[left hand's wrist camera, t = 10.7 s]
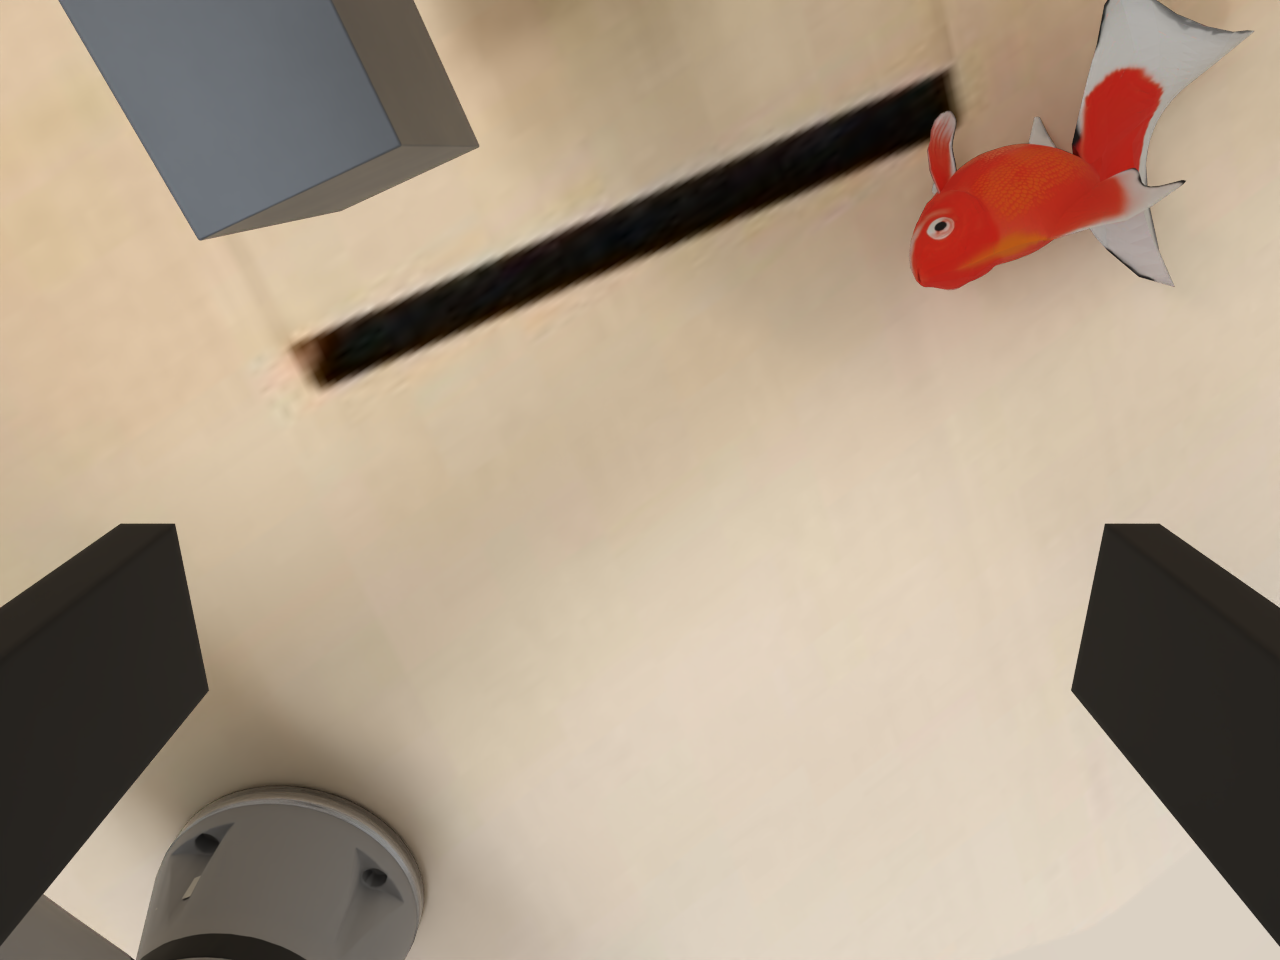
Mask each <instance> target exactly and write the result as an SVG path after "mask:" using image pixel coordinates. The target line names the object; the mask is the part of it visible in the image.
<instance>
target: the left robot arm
mask: <svg viewBox="0 0 1280 960" xmlns="http://www.w3.org/2000/svg"><path fill="white" fill-rule="evenodd" d="M208 691H209V689H208V684H207V679H206V674H205V669H204V664H203V659H202V654H201V649H200V644H199V640H198V635H197V630H196V625H195V620H194V615H193V610H192V605H191V600H190V595H189V590H188V585H187V581H186V576H185V571H184V566H183V561H182V556H181V551H180V546H179V541H178V536H177V531H176V526H175V524H120V525H118V526H117V527H115V528H114V529H112V530H111V531H110V532H108V533H107V534H105V535H104V536H102V537H101V538H100V539H98V540H97V541H95V542H94V543H92V544H91V545H90V546H88V547H87V548H85V549H84V550H82V551H81V552H80V553H78V554H77V555H75V556H74V557H72V558H71V559H69V560H68V561H67V562H65V563H64V564H62V565H61V566H59V567H58V568H57V569H55V570H54V571H52V572H51V573H49V574H48V575H47V576H45V577H44V578H42V579H41V580H39V581H38V582H37V583H35V584H34V585H32V586H31V587H29V588H28V589H27V590H25V591H24V592H22V593H21V594H19V595H18V596H16V597H15V598H14V599H12V600H11V601H9V602H8V603H6V604H5V605H4V606H2V607H1V608H0V960H134V959H133V958H131V957H130V956H129V955H128V954H127V953H125V952H124V951H122V950H121V949H120V948H118V947H117V946H115V945H114V944H112V943H111V942H110V941H108V940H107V939H105V938H104V937H102V936H101V935H100V934H98V933H97V932H95V931H94V930H92V929H91V928H90V927H88V926H87V925H85V924H84V923H82V922H81V921H80V920H78V919H77V918H75V917H74V916H72V915H71V914H70V913H68V912H67V911H66V910H64V909H63V908H61V907H60V906H59V905H57V904H56V903H55V902H53V901H52V900H51V899H49V898H48V897H46V896H45V895H44V894H43V893H44V892H45V891H46V890H47V889H48V887H49V886H50V885H51V884H52V882H53V881H54V880H55V879H56V877H57V876H58V875H59V874H60V873H61V871H62V870H63V869H64V868H65V866H66V865H67V864H68V863H69V862H70V860H71V859H72V858H73V857H74V855H75V854H76V853H77V852H78V850H79V849H80V848H81V847H82V846H83V844H84V843H85V842H86V841H87V839H88V838H89V837H90V836H91V835H92V833H93V832H94V831H95V830H96V828H97V827H98V826H99V825H100V823H101V822H102V821H103V820H104V819H105V817H106V816H107V815H108V814H109V812H110V811H111V810H112V809H113V808H114V806H115V805H116V804H117V803H118V801H119V800H120V799H121V798H122V796H123V795H124V794H125V793H126V792H127V790H128V789H129V788H130V787H131V785H132V784H133V783H134V782H135V780H136V779H137V778H138V777H139V776H140V774H141V773H142V772H143V771H144V769H145V768H146V767H147V766H148V765H149V763H150V762H151V761H152V760H153V758H154V757H155V756H156V755H157V753H158V752H159V751H160V750H161V749H162V747H163V746H164V745H165V744H166V742H167V741H168V740H169V739H170V738H171V736H172V735H173V734H174V733H175V731H176V730H177V729H178V728H179V726H180V725H181V724H182V723H183V722H184V720H185V719H186V718H187V717H188V715H189V714H190V713H191V712H192V711H193V709H194V708H195V707H196V706H197V704H198V703H199V702H200V701H201V699H202V698H203V697H204V696H205V695H206V693H207V692H208ZM1071 691H1072V692H1073V693H1074V695H1075V696H1076V697H1077V698H1078V699H1079V701H1080V702H1081V703H1082V704H1083V706H1084V707H1085V708H1086V709H1087V711H1088V712H1089V713H1090V714H1091V715H1092V717H1093V718H1094V719H1095V720H1096V722H1097V723H1098V724H1099V725H1100V726H1101V728H1102V729H1103V730H1104V731H1105V733H1106V734H1107V735H1108V736H1109V738H1110V739H1111V740H1112V741H1113V742H1114V744H1115V745H1116V746H1117V747H1118V749H1119V750H1120V751H1121V752H1122V753H1123V755H1124V756H1125V757H1126V758H1127V760H1128V761H1129V762H1130V763H1131V765H1132V766H1133V767H1134V768H1135V769H1136V771H1137V772H1138V773H1139V774H1140V776H1141V777H1142V778H1143V779H1144V780H1145V782H1146V783H1147V784H1148V785H1149V787H1150V788H1151V789H1152V790H1153V792H1154V793H1155V794H1156V795H1157V796H1158V798H1159V799H1160V800H1161V801H1162V803H1163V804H1164V805H1165V806H1166V808H1167V809H1168V810H1169V811H1170V812H1171V814H1172V815H1173V816H1174V817H1175V819H1176V820H1177V821H1178V822H1179V823H1180V825H1181V826H1182V827H1183V828H1184V830H1185V831H1186V832H1187V833H1188V835H1189V836H1190V837H1191V838H1192V839H1193V841H1194V842H1195V843H1196V844H1197V846H1198V847H1199V848H1200V849H1201V850H1202V852H1203V853H1204V854H1205V855H1206V857H1207V858H1208V859H1209V860H1210V862H1211V863H1212V864H1213V865H1214V866H1215V868H1216V869H1217V870H1218V871H1219V873H1220V874H1221V875H1222V876H1223V877H1224V879H1225V880H1226V881H1227V882H1228V884H1229V885H1230V886H1231V887H1232V889H1233V890H1234V891H1235V892H1236V893H1237V895H1238V896H1239V897H1240V898H1241V900H1242V901H1243V902H1244V903H1245V904H1246V906H1247V907H1248V908H1249V909H1250V911H1251V912H1252V913H1253V914H1254V916H1255V917H1256V918H1257V919H1258V920H1259V922H1260V923H1261V924H1262V925H1263V927H1264V928H1265V929H1266V930H1267V931H1268V933H1269V934H1270V935H1271V936H1272V938H1273V939H1274V940H1275V941H1276V943H1277V944H1278V945H1279V946H1280V608H1279V607H1278V606H1276V605H1275V604H1274V603H1272V602H1271V601H1269V600H1268V599H1266V598H1265V597H1264V596H1262V595H1261V594H1259V593H1258V592H1256V591H1255V590H1253V589H1252V588H1251V587H1249V586H1248V585H1246V584H1245V583H1243V582H1242V581H1241V580H1239V579H1238V578H1236V577H1235V576H1233V575H1232V574H1231V573H1229V572H1228V571H1226V570H1225V569H1223V568H1222V567H1221V566H1219V565H1218V564H1216V563H1215V562H1213V561H1212V560H1211V559H1209V558H1208V557H1206V556H1205V555H1203V554H1202V553H1200V552H1199V551H1198V550H1196V549H1195V548H1193V547H1192V546H1190V545H1189V544H1188V543H1186V542H1185V541H1183V540H1182V539H1180V538H1179V537H1178V536H1176V535H1175V534H1173V533H1172V532H1170V531H1169V530H1168V529H1166V528H1165V527H1163V526H1162V525H1160V524H1105V526H1104V531H1103V536H1102V541H1101V546H1100V551H1099V556H1098V561H1097V566H1096V571H1095V576H1094V581H1093V585H1092V590H1091V595H1090V600H1089V605H1088V610H1087V615H1086V620H1085V625H1084V630H1083V635H1082V640H1081V644H1080V649H1079V654H1078V659H1077V664H1076V669H1075V674H1074V679H1073V684H1072V689H1071ZM423 905H424V890H423V883H422V878H421V874H420V872H419V869H418V866H417V864H416V862H415V860H414V857H413V856H412V854H411V852H410V851H409V849H408V848H407V846H406V845H405V844H404V842H403V841H402V840H401V838H400V837H399V836H398V835H397V834H396V833H395V832H394V831H393V830H392V829H391V828H390V827H389V826H388V825H386V824H385V823H384V822H383V821H382V820H380V819H379V818H378V817H376V816H375V815H374V814H372V813H370V812H369V811H367V810H366V809H364V808H362V807H360V806H358V805H356V804H354V803H353V802H350V801H348V800H346V799H343V798H341V797H338V796H335V795H332V794H329V793H326V792H322V791H318V790H314V789H308V788H302V787H292V786H266V787H257V788H251V789H246V790H242V791H238V792H235V793H232V794H229V795H226V796H224V797H222V798H220V799H218V800H216V801H214V802H212V803H210V804H209V805H207V806H206V807H204V808H203V809H201V810H200V811H199V812H197V813H196V814H195V815H194V816H193V817H192V818H191V819H190V820H189V821H188V823H187V824H186V825H185V826H184V827H183V829H182V830H181V832H180V833H179V835H178V836H177V838H176V839H175V841H174V842H173V843H172V845H171V846H170V848H169V850H168V851H167V853H166V855H165V857H164V859H163V861H162V864H161V866H160V869H159V871H158V873H157V876H156V879H155V883H154V887H153V891H152V896H151V900H150V904H149V908H148V912H147V916H146V920H145V924H144V929H143V933H142V937H141V941H140V945H139V949H138V953H137V958H136V960H405V958H406V956H407V954H408V952H409V950H410V949H411V946H412V944H413V942H414V939H415V936H416V932H417V929H418V926H419V922H420V919H421V915H422V911H423Z"/></svg>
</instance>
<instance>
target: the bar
mask: <svg viewBox="0 0 1280 960" xmlns="http://www.w3.org/2000/svg"><path fill="white" fill-rule="evenodd" d="M59 2H60V4H61V5H62V7H63V9H64V11H65V12H66V14H67V16H68V17H69V19H70V21H71V23H72V24H73V26H74V28H75V29H76V31H77V33H78V35H79V36H80V38H81V40H82V41H83V43H84V45H85V47H86V48H87V50H88V52H89V53H90V55H91V57H92V58H93V60H94V62H95V64H96V65H97V67H98V69H99V70H100V72H101V74H102V76H103V77H104V79H105V81H106V82H107V84H108V86H109V88H110V89H111V91H112V93H113V94H114V96H115V98H116V100H117V101H118V103H119V105H120V106H121V108H122V110H123V112H124V113H125V115H126V117H127V118H128V120H129V122H130V124H131V125H132V127H133V129H134V130H135V132H136V134H137V135H138V137H139V139H140V141H141V142H142V144H143V146H144V147H145V149H146V151H147V153H148V154H149V156H150V158H151V159H152V161H153V163H154V165H155V166H156V168H157V170H158V171H159V173H160V175H161V177H162V178H163V180H164V182H165V183H166V185H167V187H168V189H169V190H170V192H171V194H172V195H173V197H174V199H175V201H176V202H177V204H178V206H179V207H180V209H181V211H182V213H183V214H184V216H185V218H186V219H187V221H188V223H189V224H190V226H191V228H192V230H193V231H194V233H195V235H196V236H197V238H198V239H199V240H205V239H210V238H215V237H219V236H224V235H229V234H234V233H238V232H243V231H248V230H253V229H257V228H262V227H267V226H272V225H276V224H281V223H286V222H291V221H295V220H300V219H305V218H310V217H315V216H319V215H324V214H329V213H334V212H338V211H342V210H344V209H346V208H348V207H351V206H353V205H355V204H357V203H359V202H361V201H364V200H366V199H368V198H370V197H372V196H374V195H377V194H379V193H381V192H383V191H385V190H387V189H390V188H392V187H394V186H396V185H398V184H400V183H403V182H405V181H407V180H409V179H411V178H413V177H416V176H418V175H420V174H422V173H424V172H426V171H428V170H431V169H433V168H435V167H437V166H439V165H441V164H444V163H446V162H448V161H450V160H452V159H454V158H457V157H459V156H461V155H463V154H465V153H467V152H470V151H472V150H474V149H476V148H478V147H479V144H478V142H477V139H476V137H475V135H474V133H473V130H472V128H471V126H470V124H469V122H468V119H467V117H466V115H465V113H464V111H463V108H462V106H461V104H460V102H459V100H458V97H457V95H456V93H455V91H454V89H453V86H452V84H451V82H450V80H449V78H448V75H447V73H446V71H445V69H444V67H443V64H442V62H441V60H440V58H439V56H438V53H437V51H436V49H435V47H434V45H433V42H432V40H431V38H430V36H429V33H428V31H427V29H426V27H425V25H424V22H423V20H422V18H421V16H420V14H419V11H418V9H417V7H416V5H415V3H414V0H59Z"/></svg>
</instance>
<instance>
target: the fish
mask: <svg viewBox="0 0 1280 960" xmlns="http://www.w3.org/2000/svg"><path fill="white" fill-rule="evenodd" d="M1253 32H1254V31H1248V30H1247V31H1237V32H1231V31H1226V30H1221V29H1217V28H1212V27H1207V26H1205V25H1202V24H1200V23H1197V22H1195V21H1193V20H1190V19H1188V18H1185V17H1183V16H1180V15H1178V14H1176V13H1175V12H1173V11H1172V10H1170V9H1169V8H1167V7H1166V6H1164V5H1163V4H1161V3H1160V2H1158V1H1157V0H1107V2H1106V3H1105V5H1104V10H1103V15H1102V21H1101V26H1100V31H1099V36H1098V42H1097V46H1096V50H1095V53H1094V57H1093V60H1092V64H1091V67H1090V71H1089V75H1088V79H1087V83H1086V87H1085V91H1084V95H1083V99H1082V103H1081V108H1080V112H1079V116H1078V121H1077V125H1076V129H1075V134H1074V138H1073V142H1072V149H1073V154H1071V153H1068V152H1066V151H1063V150H1061V149H1057V148H1056V146H1055V144H1054V143H1053V141H1052V140H1051V138H1050V137H1049V135H1048V133H1047V131H1046V129H1045V127H1044V125H1043V123H1042V121H1041V119H1040V117H1035V118H1034V122H1033V126H1032V130H1031V134H1030V139H1029V144H1016V145H1010V146H1005V147H1001V148H998V149H995V150H991V151H988V152H985V153H983V154H981V155H979V156H977V157H975V158H973V159H972V160H970V161H969V162H967V163H966V164H964V165H963V166H962V167H961V168H960V169H958V170H957V171H956V163H955V158H954V154H953V148H952V146H953V138H954V134H955V129H956V118H955V116H954V114H953V113H952V111H946V112H943V113H941V114H940V115H939V116H938V117H937V118H936V119H935V120H934V123H933V126H932V129H931V139H930V143H929V147H928V150H927V152H928V160H929V169H930V173H931V175H932V178H933V181H934V184H933V188H932V192H933V194H934V197H933V198H932V199H931V200H930V201H929V202H928V203H927V204H926V206H925V208H924V210H923V212H922V214H921V216H920V218H919V221H918V222H917V224H916V227H915V229H914V232H913V236H912V239H911V244H910V267H911V270H912V273H913V275H914V277H915V279H916V281H917V282H918V283H919V284H920V285H922V286H924V287H935V288H941V289H945V290H954V289H958V288H960V287H961V286H963V285H965V284H966V283H968V282H970V281H973V280H975V279H977V278H979V277H981V276H983V275H985V274H986V273H988V272H989V271H990V270H991V269H992V268H993V267H994V266H996V265H999V264H1002V263H1006V262H1009V261H1013V260H1016V259H1018V258H1021V257H1023V256H1026V255H1029V254H1031V253H1033V252H1035V251H1037V250H1039V249H1040V248H1042V247H1043V246H1045V245H1046V244H1048V243H1049V242H1051V241H1052V240H1053V239H1056V238H1060V237H1063V236H1066V235H1069V234H1072V233H1075V232H1079V231H1082V230H1086V229H1090V230H1091V231H1092V233H1093V234H1094V236H1095V237H1096V238H1097V239H1098V240H1099V242H1100V243H1101V244H1102V245H1103V246H1104V247H1105V248H1106V249H1107V250H1108V251H1109V252H1110V253H1111V254H1113V255H1114V256H1115V257H1116V258H1117V259H1119V260H1120V261H1121V262H1122V263H1123V264H1124V265H1126V266H1127V267H1128V268H1129V269H1130V270H1132V271H1133V272H1134V273H1135V274H1136V275H1137V276H1139V277H1142V278H1145V279H1149V280H1152V281H1156V282H1159V283H1163V284H1166V285H1170V286H1173V287H1174V284H1173V282H1172V280H1171V277H1170V275H1169V273H1168V270H1167V268H1166V266H1165V264H1164V261H1163V259H1162V257H1161V254H1160V252H1159V247H1158V243H1157V238H1156V234H1155V229H1154V225H1153V220H1152V215H1151V211H1150V207H1151V206H1153V205H1154V204H1156V203H1157V202H1159V201H1160V200H1161V199H1163V198H1164V197H1166V196H1167V195H1168V194H1170V193H1171V192H1173V191H1174V190H1176V189H1177V188H1178V187H1180V186H1181V185H1183V184H1184V183H1185V182H1186V181H1185V180H1181V181H1177V182H1174V183H1170V184H1166V185H1162V186H1153V187H1150V186H1147V173H1146V159H1147V152H1148V146H1149V142H1150V138H1151V135H1152V133H1153V130H1154V128H1155V125H1156V123H1157V121H1158V119H1159V118H1160V116H1161V114H1162V113H1163V111H1164V110H1165V108H1166V107H1167V106H1168V104H1169V103H1170V102H1171V101H1172V100H1173V99H1174V97H1175V96H1176V95H1177V94H1178V93H1179V92H1180V91H1181V90H1182V89H1184V88H1185V87H1186V86H1187V85H1188V84H1190V83H1191V82H1192V81H1194V80H1195V79H1196V78H1197V77H1199V76H1200V75H1201V74H1202V73H1204V72H1205V71H1206V70H1207V69H1209V68H1210V67H1211V66H1212V65H1214V64H1215V63H1216V62H1217V61H1219V60H1220V59H1221V58H1222V57H1223V56H1225V55H1226V54H1227V53H1228V52H1230V51H1231V50H1232V49H1233V48H1234V47H1236V46H1237V45H1238V44H1239V43H1241V42H1242V41H1243V40H1244V39H1245V38H1247V37H1248V36H1249V35H1250V34H1251V33H1253Z"/></svg>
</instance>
